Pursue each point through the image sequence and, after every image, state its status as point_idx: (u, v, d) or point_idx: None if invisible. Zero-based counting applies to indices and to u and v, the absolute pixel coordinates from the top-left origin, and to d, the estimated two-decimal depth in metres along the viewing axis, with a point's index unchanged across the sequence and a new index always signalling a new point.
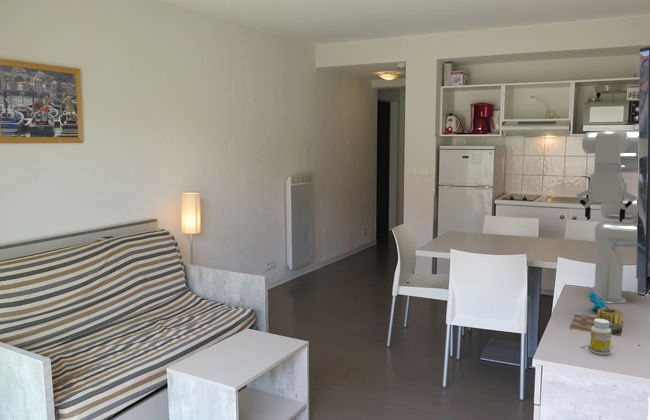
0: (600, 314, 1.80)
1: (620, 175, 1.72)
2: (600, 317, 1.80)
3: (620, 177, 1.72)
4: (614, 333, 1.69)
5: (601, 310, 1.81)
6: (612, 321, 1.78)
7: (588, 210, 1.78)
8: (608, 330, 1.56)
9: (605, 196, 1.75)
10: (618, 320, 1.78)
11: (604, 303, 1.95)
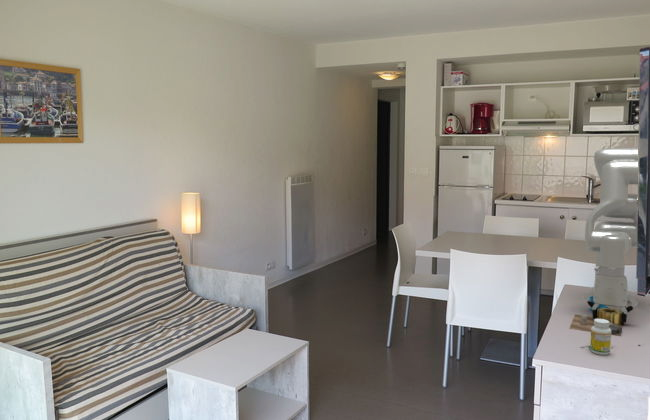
0: (600, 314, 1.80)
1: None
2: (600, 317, 1.80)
3: None
4: (614, 333, 1.69)
5: (601, 310, 1.81)
6: (612, 321, 1.78)
7: None
8: (608, 330, 1.56)
9: None
10: (618, 320, 1.78)
11: None
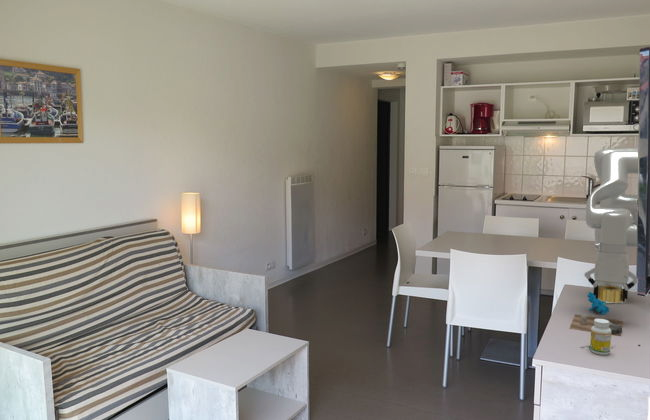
0: (601, 291, 1.80)
1: None
2: (601, 294, 1.80)
3: None
4: (614, 333, 1.69)
5: (602, 287, 1.81)
6: (613, 298, 1.77)
7: None
8: (608, 330, 1.56)
9: None
10: (619, 297, 1.77)
11: (603, 303, 1.95)
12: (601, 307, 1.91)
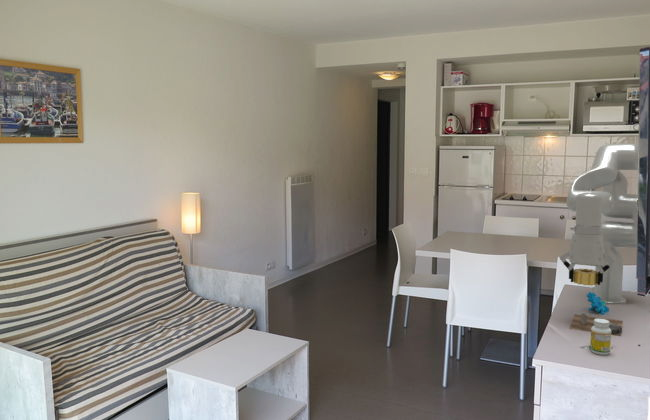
0: (576, 274, 1.76)
1: None
2: (576, 277, 1.76)
3: None
4: (614, 333, 1.69)
5: (577, 270, 1.78)
6: (588, 281, 1.74)
7: None
8: (608, 330, 1.56)
9: None
10: (594, 280, 1.74)
11: (603, 303, 1.95)
12: (600, 307, 1.92)
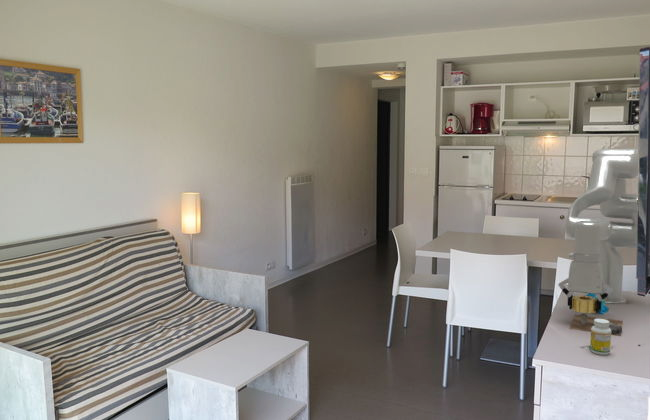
0: (575, 301, 1.78)
1: None
2: (575, 304, 1.78)
3: None
4: (614, 333, 1.69)
5: (576, 297, 1.79)
6: (586, 308, 1.75)
7: None
8: (608, 330, 1.56)
9: None
10: (593, 307, 1.75)
11: (603, 303, 1.95)
12: None
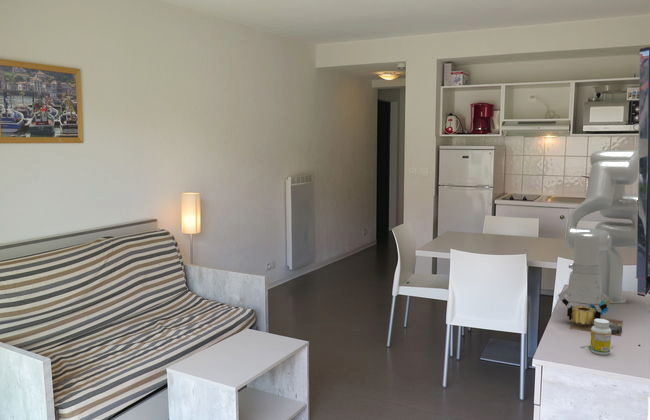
0: (574, 312, 1.78)
1: None
2: (574, 315, 1.78)
3: None
4: (614, 333, 1.69)
5: (575, 308, 1.79)
6: (586, 319, 1.76)
7: None
8: (608, 330, 1.56)
9: None
10: (592, 318, 1.76)
11: (602, 303, 1.95)
12: None
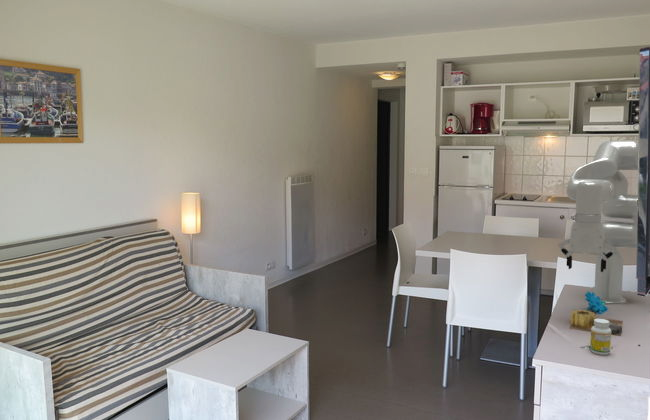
0: (573, 316, 1.78)
1: None
2: (573, 319, 1.78)
3: None
4: (614, 333, 1.69)
5: (575, 312, 1.80)
6: (585, 323, 1.76)
7: None
8: (608, 330, 1.56)
9: None
10: (591, 322, 1.76)
11: (602, 302, 1.95)
12: (598, 306, 1.92)
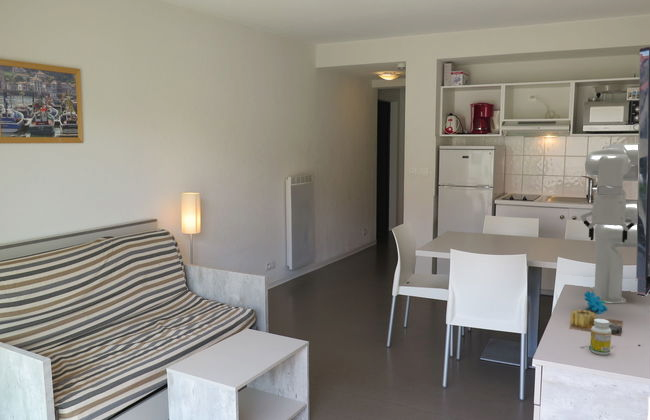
0: (573, 316, 1.78)
1: None
2: (573, 319, 1.78)
3: None
4: (614, 333, 1.69)
5: (575, 312, 1.80)
6: (585, 323, 1.76)
7: None
8: (608, 330, 1.56)
9: None
10: (591, 322, 1.76)
11: (602, 302, 1.96)
12: (598, 306, 1.92)
